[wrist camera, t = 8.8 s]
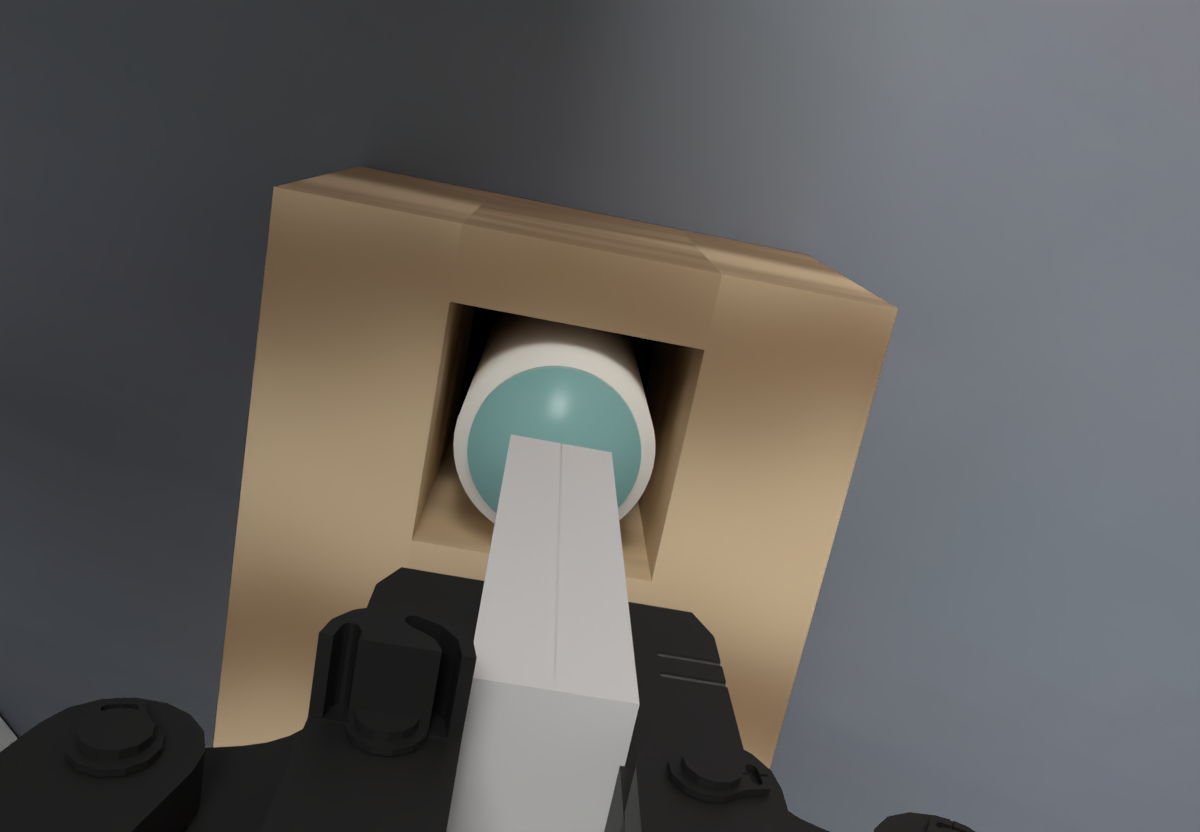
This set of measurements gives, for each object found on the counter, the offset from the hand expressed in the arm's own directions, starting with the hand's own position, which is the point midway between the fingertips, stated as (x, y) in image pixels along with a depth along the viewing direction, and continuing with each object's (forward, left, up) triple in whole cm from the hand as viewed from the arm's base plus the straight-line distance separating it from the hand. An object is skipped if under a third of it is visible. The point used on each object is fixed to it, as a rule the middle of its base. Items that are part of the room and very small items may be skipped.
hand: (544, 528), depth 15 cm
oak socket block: (+5, 0, -13) cm, 14 cm away
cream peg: (0, 0, -13) cm, 13 cm away
